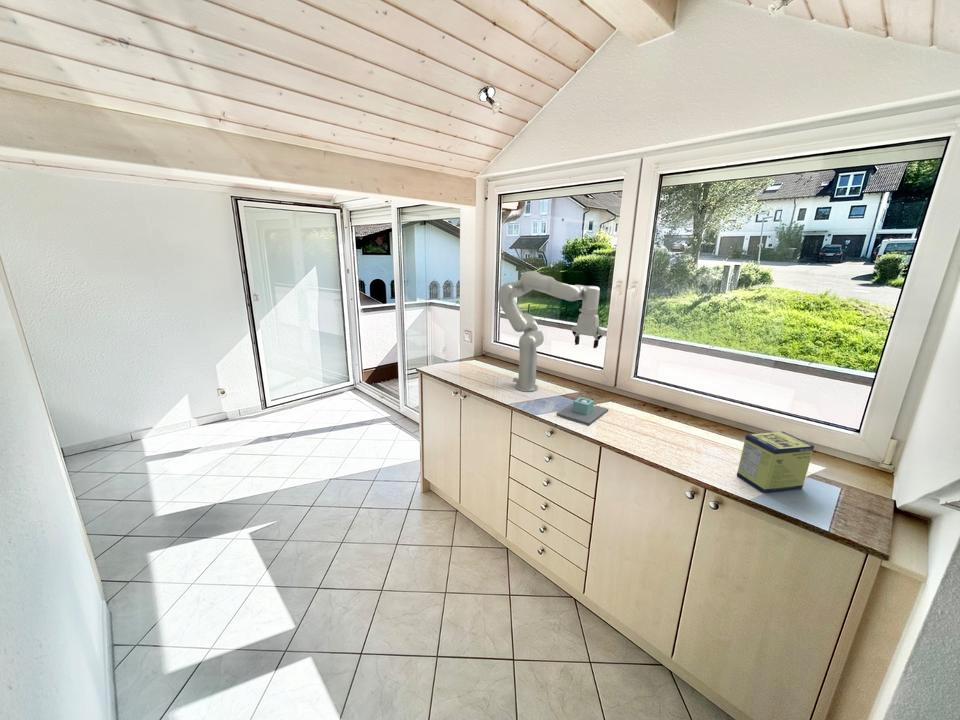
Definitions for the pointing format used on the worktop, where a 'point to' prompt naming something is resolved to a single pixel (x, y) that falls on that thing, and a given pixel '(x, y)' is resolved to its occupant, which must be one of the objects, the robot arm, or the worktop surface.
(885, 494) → the worktop surface
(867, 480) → the worktop surface
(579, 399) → the spool collar
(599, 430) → the worktop surface
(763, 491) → the protein box
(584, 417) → the board
